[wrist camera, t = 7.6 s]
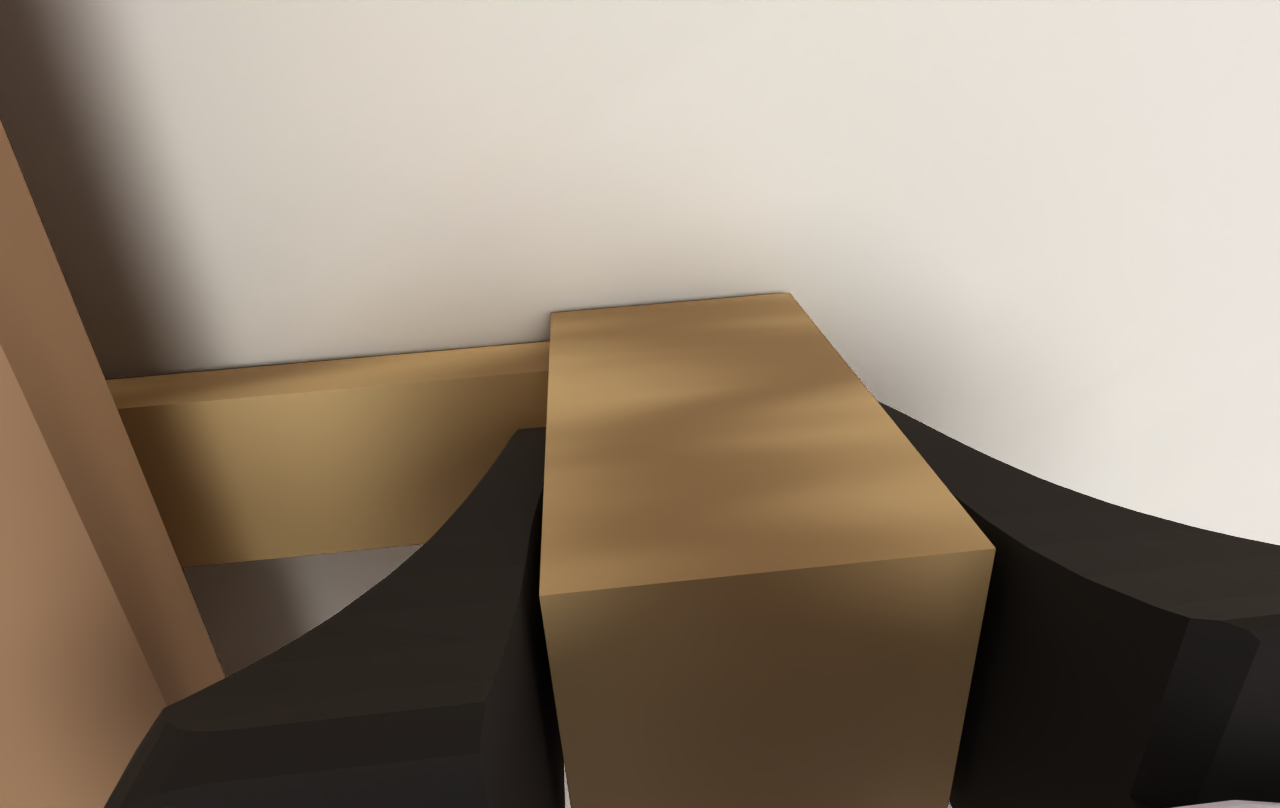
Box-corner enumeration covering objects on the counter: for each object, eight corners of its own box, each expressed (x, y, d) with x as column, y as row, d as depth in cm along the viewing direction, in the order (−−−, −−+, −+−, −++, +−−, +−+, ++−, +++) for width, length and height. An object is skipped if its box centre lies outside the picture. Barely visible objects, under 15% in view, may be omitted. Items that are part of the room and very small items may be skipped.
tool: (789, 292, 13) (996, 547, 7) (783, 492, 15) (941, 838, 9) (-280, 383, 12) (-1164, 773, 6) (-148, 584, 14) (-720, 1042, 8)
